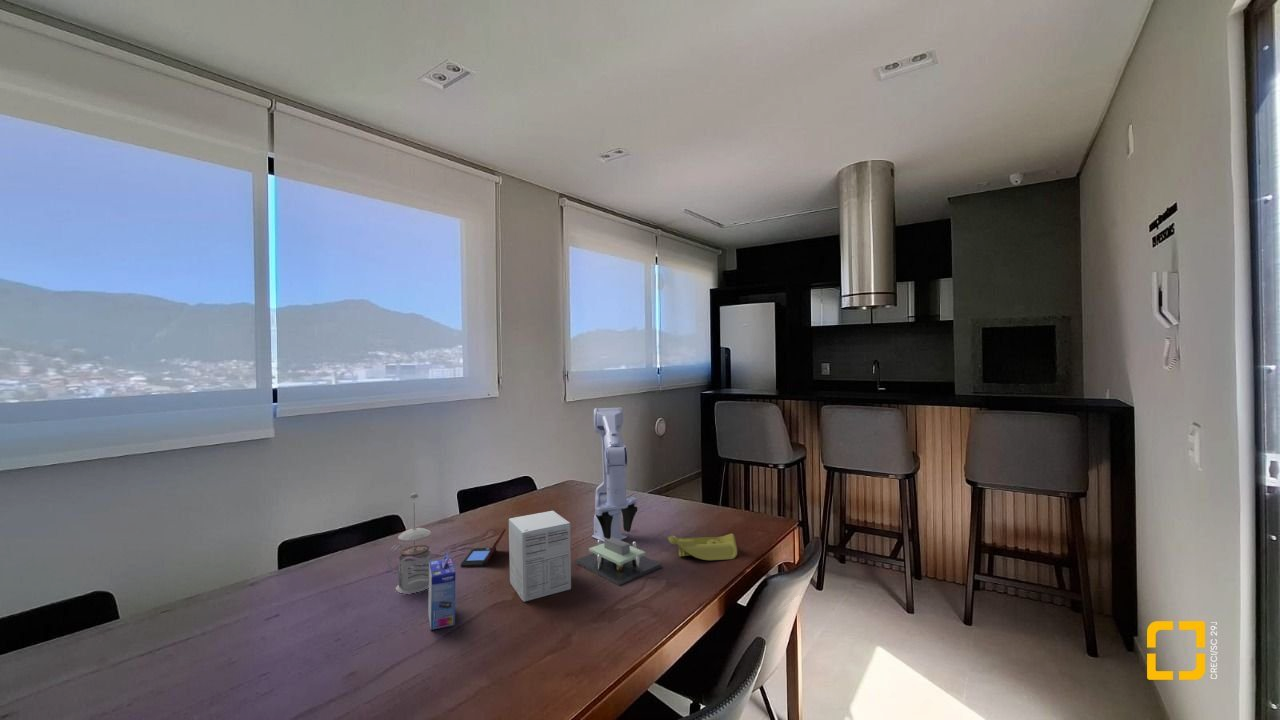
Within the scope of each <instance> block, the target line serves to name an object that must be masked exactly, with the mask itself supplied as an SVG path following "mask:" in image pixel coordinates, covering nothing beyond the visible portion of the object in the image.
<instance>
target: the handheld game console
mask: <svg viewBox="0 0 1280 720" xmlns="http://www.w3.org/2000/svg"><path fill="white" fill-rule="evenodd" d="M506 530H507V529H506V528H504V529H503V531H501V533H500V535H499V536H498V538H497V539H496V540H495V542H494V544H493V546H492V547H476V548H472V549H471V551H470V552H469V553H468V554H467V555H466V557H465V558H464V559H463V560H462V562H461V563H460V568H462V567H467V568H485V567H486V566H487V565H488V564H489V562H490V559H491V558H492V557H493V556H492V555H494V554H495V553H496V552H497V546H498V545H499V543H500V541H501V540H502V538H503V536H504V534H505V533H506ZM495 551H496V552H495ZM494 552H495V553H494ZM488 561H489V562H488Z"/></svg>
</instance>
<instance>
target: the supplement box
mask: <svg viewBox="0 0 1280 720" xmlns="http://www.w3.org/2000/svg"><path fill="white" fill-rule="evenodd" d="M508 544H509V550H508V551H509V583H510V584H511V586H512V588H513V589H514V591H515V592H516V593H517V596H519V597H520V599H521V600H522V601H523V602H524V603H525V602H529V601H532V600H536V599H539V598H542V597H546V596H549V595H555V594H557V593H562V592H564V591H565V592H567V591H569V590H571V589H572V571H571V569H572V568H571V567H572V562H571V561H572V560H571V554H572V553H571V522H570V521H568V520H566V519H565V518H564V517H563V516H561V515H560V514H559V513H557V512H556V511H554V510H550V511H549V510H548V511H543V512H538V513H533V514H527V515H521V516H515V517H511V518H509V519H508Z"/></svg>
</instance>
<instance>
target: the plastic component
mask: <svg viewBox="0 0 1280 720" xmlns="http://www.w3.org/2000/svg"><path fill="white" fill-rule="evenodd" d="M667 539H668V541H669V543H670V544H671V545H677V547H678V548H677V549H678V557H689V556H691V557H693V558H695V559H699V560H703V561H724V560H733V559H735V558H736V557H737V555H738V546H737V543H736V537H735V534H733V533H729V534H726V535H723V536H722V535H721V536H708V537H707V536H706V537H704V536H703V537H676V536H675V535H670V536H668V537H667Z"/></svg>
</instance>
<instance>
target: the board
mask: <svg viewBox="0 0 1280 720" xmlns="http://www.w3.org/2000/svg"><path fill="white" fill-rule="evenodd" d="M588 551H589V552H590V553H591V554H593V553H594V554H596V555H598V554H601V557H603V558H605V559H607V560H609V561H611V562H613V563H616V564H618V565H622V564H624V563H627V562H629V561H632V560H634V559H636V556H639V557H642V556H644V557H645V556H646V555H647V552H646V551H644V550H643V549H639V548H637V547H636V548H635V547H633V545H630V543H628V542H625V541H624V540H619V539H616V538H614V537H610V539H604V542H603V543H601V544H600V545H598V544H597V545H594V546H591V547H589V548H588Z"/></svg>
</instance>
